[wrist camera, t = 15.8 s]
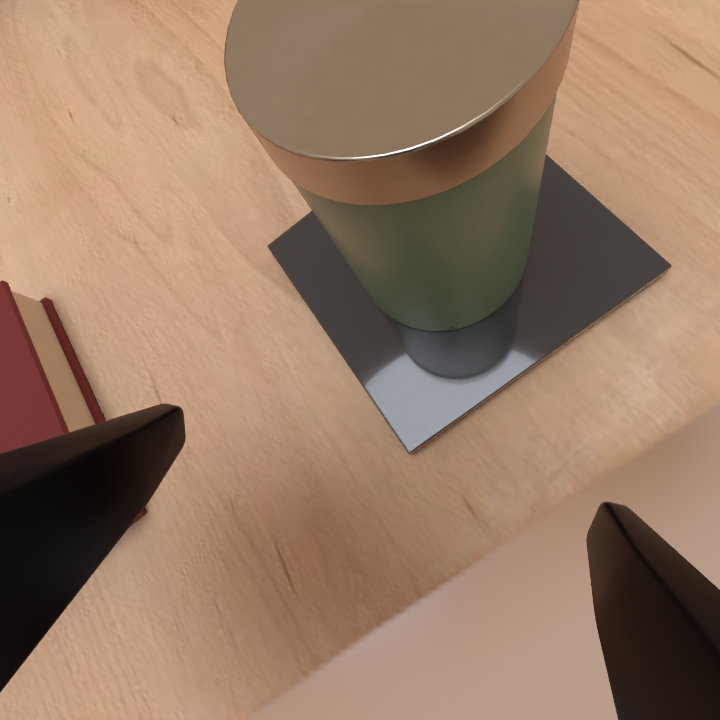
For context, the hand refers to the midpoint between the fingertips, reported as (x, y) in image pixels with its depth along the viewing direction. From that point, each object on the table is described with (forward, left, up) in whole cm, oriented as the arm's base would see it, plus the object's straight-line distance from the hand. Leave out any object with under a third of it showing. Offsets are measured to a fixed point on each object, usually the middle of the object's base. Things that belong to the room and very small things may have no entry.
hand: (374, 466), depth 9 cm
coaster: (+8, -3, -7) cm, 11 cm away
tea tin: (+8, -3, -7) cm, 11 cm away
